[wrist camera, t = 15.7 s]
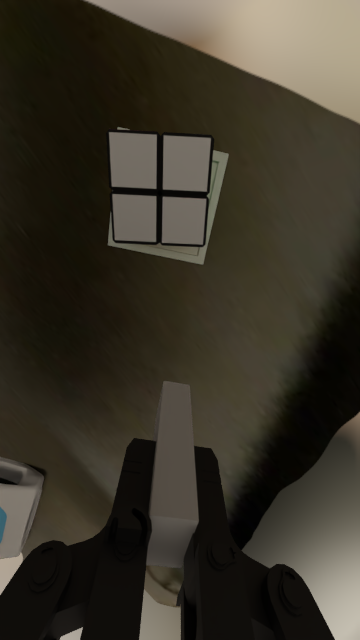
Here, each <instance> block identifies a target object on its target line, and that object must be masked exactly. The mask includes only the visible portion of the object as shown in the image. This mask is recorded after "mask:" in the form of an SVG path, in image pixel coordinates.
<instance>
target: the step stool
mask: <svg viewBox="0 0 360 640" xmlns="http://www.w3.org/2000/svg"><path fill="white" fill-rule="evenodd" d="M0 478H3V479H6V480H9V481H12V482H14V483H17V484H18V485H8V484H2V483H0V559H4V558H11V557H17V556H19V555H20V553H21V551H22V548H23V546H24V544H25V542H26V540H27V537H28V535H29V532H30V529H31V526H32V523H33V520H34V517H35V513H36V510H37V506H38V503H39V500H40V496H41V493H42V485H43V481H44V476H43V475H42V474H41V473H39V472H38V471H36V470H35V469H33V468H32V467H30V466H29V465H27V464H26V463H22V462H18V461H14V460H10V459H6V458H2V457H0Z"/></svg>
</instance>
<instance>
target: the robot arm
mask: <svg viewBox="0 0 360 640" xmlns="http://www.w3.org/2000/svg"><path fill="white" fill-rule="evenodd" d="M183 562H184V581H183V584H182V586H181V589H180V591H179V594H178V597H177V604H176V606H180V604H181V640H335V639H334V637H333V635H332V633H331V631H330V629H329V627H328V625H327V623H326V622H325V620H324V618H323V616H322V614H321V612H320V610H319V608H318V606H317V604H316V602H315V600H314V598H313V596H312V594H311V592H310V590H309V588H308V587H307V585H306V584H305V582H304V581H303V579H302V578H301V577H300V576H299V574H298V573H296V572H295V570H293V569H292V568H290V567H288V566H286V565H285V564H276V565H275V566H273V567H272V568H268V567H266V566H264V565H262V564H261V563H259V562H257V561H255V560H253V559H252V558H250V557H248V556H247V555H246V554H244V553H243V552H242V551H241V550H240V549H239V548H238V546H237V545H236V543H235V542H234V540H233V538H232V536H231V534H230V530H229V526H228V521H227V515H226V509H225V503H224V497H223V490H222V485H221V478H220V475H219V466H218V460H217V458H216V456H215V454H214V453H213V451H212V449H211V448H204V447H197V446H194V441H193V426H192V411H191V396H190V385H187V384H181V383H174V382H168V381H163V386H162V391H161V396H160V401H159V405H158V410H157V415H156V421H155V429H154V437H153V441H151V440H144V439H137V438H134V439H133V440H132V442H131V443H130V444H129V446H128V447H127V449H126V454H125V458H124V462H123V466H122V471H121V475H120V479H119V483H118V487H117V492H116V496H115V500H114V504H113V508H112V513H111V515H110V517H109V519H108V521H107V524H106V526H105V527H104V528H103V529H102V530H101V531H100V533H98V534H97V535H96V536H94V537H93V538H90V539H88V540H86V541H83V542H79V543H76V544H73V545H69V546H67V545H65V544H64V543H63V542H61V541H55V540H52V541H49V542H45V543H42V544H41V545H40V546H38V547H37V548H35V549H34V550H32V551H31V553H30V554H29V555H28V556H27V557H26V558H25V560H24V561H23V562H22V564H21V565H20V567H19V568H18V570H17V571H16V573H15V574H14V576H13V577H12V579H11V580H10V582H9V583H8V585H7V586H6V588H5V589H4V591H3V592H2V594H1V595H0V640H60V637H61V636H63V635H65V634H68V633H70V632H72V631H75V630H77V629H79V628H81V627H83V630H82V634H81V638H80V640H139V634H140V624H141V613H142V602H143V592H144V582H145V571H146V565H154V566H164V567H173V568H181V567H182V564H183Z"/></svg>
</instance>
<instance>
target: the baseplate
mask: <svg viewBox="0 0 360 640" xmlns="http://www.w3.org/2000/svg"><path fill="white" fill-rule="evenodd" d="M118 129H120V130H129V129H125V128H120V127H118ZM228 155H229V154H227V153H223V152H218V151H214V150H213V159H212V172H211V184H210V193H209V194H208V195H207V197H208V198H209V209H208V221H207V233H206V245H205V246H203V247H182V246H162V245H161V244H160V243H158V244H157V245H143V244H121V243H115V242H114V241H113V238H112V221H111V214H110V226H109V238H108V245H110V246H114V247H119V248H124V249H129V250H134V251H139V252H144V253H148V254H153V255H158V256H163V257H168V258H173V259H178V260H182V261H187V262H192V263H197V264H202V265H203V263H204V258H205V254H206V250H207V245H208V241H209V237H210V233H211V228H212V224H213V220H214V215H215V211H216V207H217V203H218V198H219V194H220V190H221V185H222V181H223V177H224V173H225V168H226V164H227V160H228ZM112 191H113V190H112Z"/></svg>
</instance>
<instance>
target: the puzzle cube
mask: <svg viewBox="0 0 360 640" xmlns="http://www.w3.org/2000/svg"><path fill="white" fill-rule="evenodd" d="M106 136H107V153H108V170H109V187H110V188H111V189H112V190H113V191H112V192H111V193H110V204H111V221H112V238H113V241H114V242H115V243H121V244H143V245H157V244H158V243H160V244H161V245H162V246H182V247H203V246H205V245H206V233H207V221H208V209H209V198H208V197H207V195H208V194H209V193H210V184H211V172H212V159H213V147H214V138H213V137H212V136H211V135H203V134H185V133H167V132H164V133H163V134H162V135H161V136H160V135H159V133H158V132H155V131H137V130H120V129H109V130H108V131H107V133H106Z"/></svg>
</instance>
